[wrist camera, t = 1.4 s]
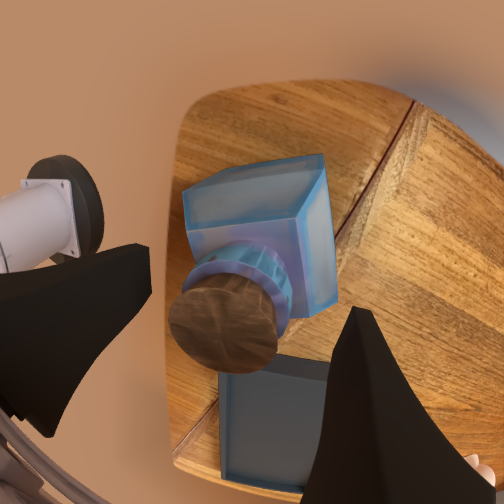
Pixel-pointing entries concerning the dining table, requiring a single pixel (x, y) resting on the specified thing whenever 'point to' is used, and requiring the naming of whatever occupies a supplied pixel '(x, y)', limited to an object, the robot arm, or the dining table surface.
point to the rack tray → (272, 423)
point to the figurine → (481, 468)
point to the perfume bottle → (254, 261)
